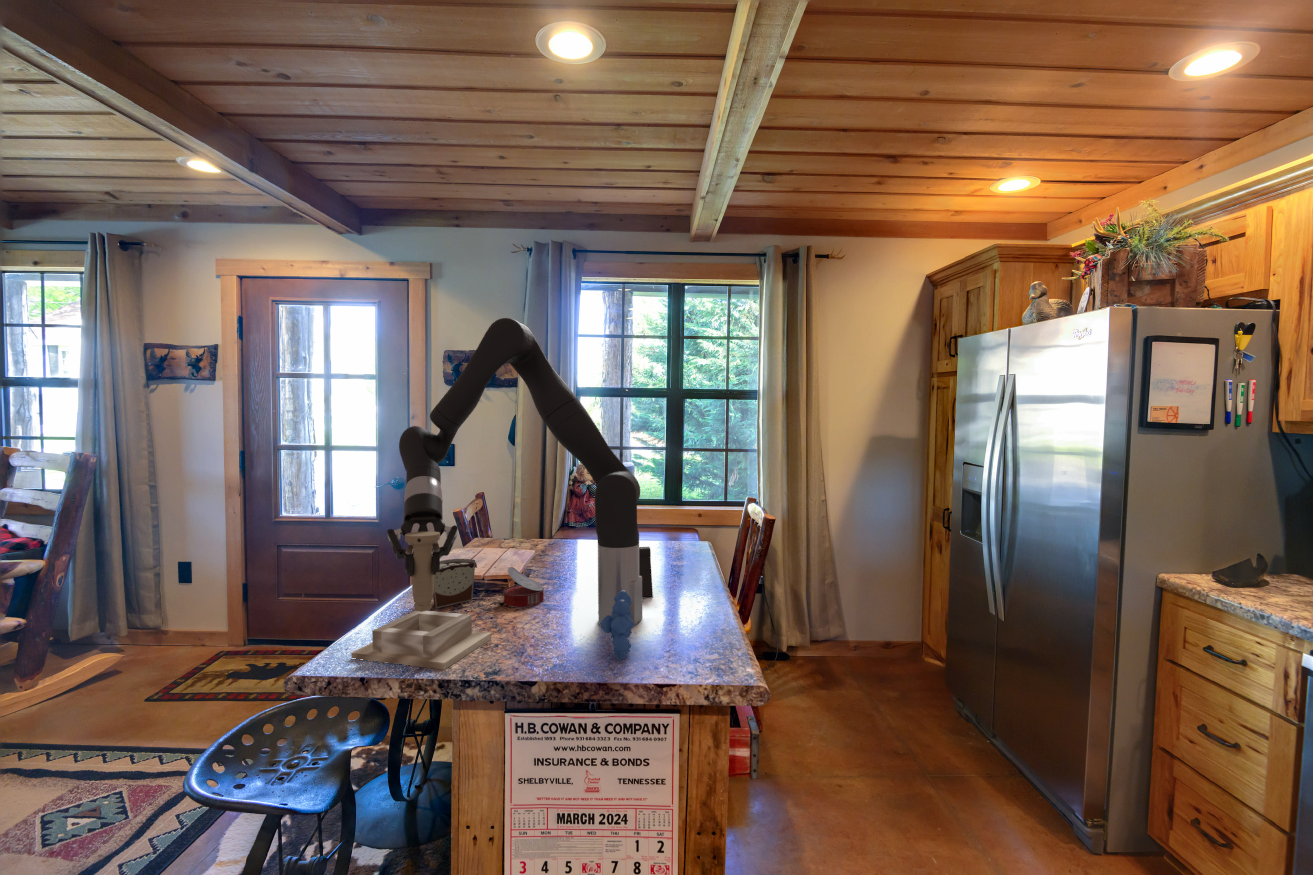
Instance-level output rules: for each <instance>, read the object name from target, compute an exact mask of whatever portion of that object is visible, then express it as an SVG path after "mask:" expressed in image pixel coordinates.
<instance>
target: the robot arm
mask: <svg viewBox="0 0 1313 875" xmlns="http://www.w3.org/2000/svg"><path fill="white" fill-rule="evenodd" d="M506 363H508V364H509V365H510V366H511V367H512V368H513V369H514V371H515V372H517V374H518V376H519V377H521V379H522V380H523V381H524V382H523V383H524V384H525V385H526V387H527V388H528V391H529V393H530V396H531V398H532V402H533V403H534V406H535V408H536V411H537V412H538V415H539V416H540V418H541V420H542V421H543V422H544V424H545V425H546V427H547V428H548V430H549V431H550V432H551V434H552V435H553V437H554V438H555V439H556V440H557V441H558V443H560V444H561V445H562V447H564V449H566V451H567V452H569V453H570V454H571V455H572V456H573V457H574V458H575V459H576V460H578V461H579V462H580V463H581V464H582V466H583V467H584V468H585V470H586V471H587V472H588V473H589V475H590V477H591V478H592V480H593V481H594V483H595V485H596V487H595V491H594V492H595V493H594V517H595V518H594V519H595V533H596V537H597V583H598V584H597V599H598V600H597V602H598V604H597V606H598V607H597V609H598V610H597V615H598V617H597V618H598V620H597V621H598V623H599V624H600V623H601V621H602V620H603V619H604V617H605V616H607V615H610V616H611V615H612V611H613V608H612V607H613V606H614V604H615V600H614V598H615V596H616V595H617V594H618V592H619V591H621V590H624V591H626V592H627V593H628V595H629V596H630V598H631V601H632V603H631V604H630V606H629V607H630V609H629V610H630V612H631V613H632V616H631V619H632V620H633V622H634V623H635V625H634V626H633V627H636V626H637V624H638V623H639V622H640V621H641V620H642V619H643V598H642V576H639V547H640V532H639V528H638V502H639V500H640V498H641V486H640V482H639V481H638V480H637V478H636V477H635V476H634V474H633V473H632V472H631V471H630V470H629V469H628V468H627V467H626V466H625V464H624V463H623V462H622V461H621V460H620V459H619V458H618V457H617V455H616V454H615V453H614V452H613V450H612V449H611V448H610V446H609V445H608V443H607V441H606V440H605V438H604V436H603V435H602V433H601V432H600V430H599V428H598V426H597V425H596V424H595V422H594V420H593V419H592V417H591V416H590V414H589V412H588V411H587V409H586V408H585V407H584V405H583V404H582V403H581V401H580V399H578V397H577V395H575V393H574V392H573V390H571V388H570V387H569V386H568V384H567V383H566V382H565V381H564V379H563V378H562V377H561V375H559V374H558V372H557V371H556V370H555V368H553V366H552V364H551V363H550V362H549V360H548V358H547V357H546V355H545V353H544V351H543V350H542V348H541V346H540V345H539V342H538V341H537V339H536V337H535V335H534V333H533V332H532V331H531V330H530V328H529V327H528V326H526V325H525V324H523V323H521V322H519V321H518V320H516V319H514V318H511V317H510V318H509V317H502V318H498V319H496V320H495V321H493V322H492V323H491V324H490V325H489V327H488V328H487V330H486V332H485V333H484V334H483V337H482V338H481V341H480V342H479V344H478V346H477V348H476V350H475V351H474V352H473V355H471V358H470V359H469V360H468V362H467V364H466V365H465V367H464V368H463V370H462V372H461V373H460V374H459V376H458V377H457V379H456V380H455V382H454V383H453V384H452V385H451V387H450V388H449V389H448V391H446V393H445V394H444V396H442V398H441V399H440V400H439V401H438V403H437V404H436V405H435V407H434V408H433V409H432V410H431V412H430V414H429V419H430V421H431V423H432V424H433V425H435V427H436V428H438V429H439V432H438V433H437V434H435V433H433V432H432V431H430V430H427V429H425V428H423V427H421V426H419V425H411V426H410V427H407V428H406V429H405V430H404V431H403V432H402V434H401V435H400V438H399V443H398V449H399V454H400V458H401V461H402V464H403V468H404V470H405V472H406V479H405V480H406V481H405V482H406V483H405V491H404V501H403V504H404V505H403V523H402V524H401V526H400V528H396V529H395V530H394V529H393V528H389V529H388V530H387V531H386V533H387V540H388V542H389V544H390V547H391V549H392V551H393V554H394V555H395V557H396V559H397V560H401V559H403V560H405V562H404V563H405V565H404V568H405V569H404V571H405V574H406V575H408V576H409V577H410V578H411V577H412V576H413V555H414V550H413V546H412V545H411V544H409V543H407V546H406V549H404V548H403V547H402V544H401V543H400V540H401V536H403V537H404V538H405V534H407V533H412V532H440V537H441V536H442V535H443V534H444V533H445V537H446V538H445V541H444V543H443V546H440V545H439V540H438V541H437V542H435V543H434V544H433V545H432V575H436V572H439V570H440V561H441V557H443V556H445V557H447V556H449V555H450V552H451V551H452V548H453V546H454V544H455V541H456V540H457V537H458V533H459V532H458V531H459V529H458V528H459V527H458V526H457V525H455V524H454V525H452V526H449V525H446V524H445V522H444V521H443V518H444V517H443V514H444V513H443V502H444V501H443V490H442V486H441V485H442V484H441V482H442V481H441V479H442V477H441V476H442V475H441V474H442V473H441V468H440V465H439V464H440V463H441V462H444V460H445V458H446V457H447V455H448V453H449V450H450V448H451V445H452V443H453V441H454V439H455V438H456V435H457V433H458V431H459V429H460V427H461V426H462V425H463V424H464V423H465V422H466V420H467V419H468V418H469V417H470V416H471V414H472V413H473V411H474V410H475V409H476V407H477V406H478V404H479V402H480V399H481V398H482V395H483V394H484V392H485V389H486V387H487V385H489V382H490V381H491V379H492V378H493V377H494V376H495V374H496V373H497V372H498V370H500V369H501V368H502V367H503V366H504V365H505V364H506Z"/></svg>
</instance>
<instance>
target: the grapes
mask: <svg viewBox="0 0 1313 875" xmlns="http://www.w3.org/2000/svg"><path fill="white" fill-rule="evenodd" d="M614 600H615V604H614V606H613V607H612V608H613V611H612V615H611V616H610V615H607V616H605V617H604V619H603V620H602V621H601V623H599V626H600V628H601V629H602V631H603V632H604V633H605V634H610V638H611V639H612V640H611V642H610V643H611V645H612V646H613V649H612V650H611V651H612V652H613V654H614V656H615V658H616V659H617V660H619V661H623V660H624V659H625V658H627V656H628V655H629V654H630V652H631V648H632V645H631V643H630V641H629V637H630V636H631V635H632V633H633V632H632V631H633V630H632V629H633V628H634V627H635V626H636V625H635V623H634V622H633V620H632V619H631V616H632V613H631V612H630V610H629V609H630V607H629V606H630V604H631V603H632V601H631V598H630V596H629V595H628V593H627V592H626V591H624V590H621V591H619V592H618V594H617V595H616V596H615V598H614ZM634 625H635V626H634Z"/></svg>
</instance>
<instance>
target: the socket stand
mask: <svg viewBox="0 0 1313 875" xmlns="http://www.w3.org/2000/svg"><path fill="white" fill-rule="evenodd" d="M472 615H473V614H471V613H470V614H469V613H457V612H456V613H455V612H448V611H447V612H444V611H435V610H434V611H433V610H428V611H423V612H420V611H416V610H415V609H414V611H411V612H409V613H407V614H405V615H403V616H401V617H399V618H396V619H394V620H392V621H390V622H388V623H386V624H383V625H381V626H379V627H376V628H374V629H373V630H372V632H371V633H372V636H371V637H372V642H370V643H369V644H367V645H364V646H362V647H360V648H358V649H356V650H354V651H351V652H350V656H351V657H350V659H351V658H356V659H363V660H362V661H364V660H370V661H369V662H372V661H379V662H378V663H381V662H388V663H387V664H390V663H396V664H395V665H399V664H404V665H403V666H408V665H410V666H409V667H419V668H427V669H436V670H443V671H444V670H446V669H447V668H449V667H450V666H452V665H453V664H455V663H457V662H458V661H460V660H462V659H463V658H464V657H466V656H468V655H469V654H470V653H472V652H474V651H475V650H477V649H478V648H480V647H482V645H484V644H486V643H487V642H488V641H490V640H492V633H491V632H484V631H475V630H472V629H473V624H472V623H473V621H472V620H473V619H472V618H473V616H472Z"/></svg>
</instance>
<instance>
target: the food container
mask: <svg viewBox="0 0 1313 875" xmlns="http://www.w3.org/2000/svg"><path fill="white" fill-rule="evenodd" d="M477 568H478V565H477V562H476V560H475V559H472V558H451V559H450V558H449V559H444V560H440V570H439V572H436V575H434V592H433V600H432V602H433V607H434V608H435V609H439V608H444V607H448V606H452V605H453V606H454V605H457V604H462V603H466V602H470V601H471V602H472V601H473V596H474V582H475V571H476V569H477Z"/></svg>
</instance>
